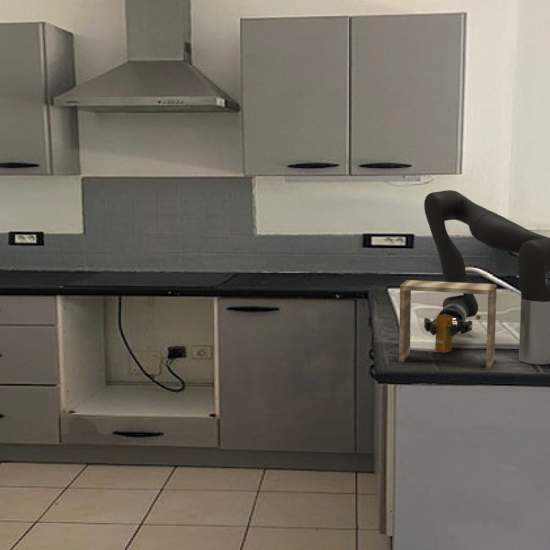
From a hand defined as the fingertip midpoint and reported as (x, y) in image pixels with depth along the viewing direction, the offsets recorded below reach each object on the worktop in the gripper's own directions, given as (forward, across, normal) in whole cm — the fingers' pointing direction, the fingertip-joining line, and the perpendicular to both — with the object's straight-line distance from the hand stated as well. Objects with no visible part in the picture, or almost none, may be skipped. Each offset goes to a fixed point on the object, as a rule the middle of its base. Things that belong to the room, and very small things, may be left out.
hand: (442, 331), depth 224 cm
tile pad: (-17, -7, +9) cm, 20 cm away
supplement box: (-3, 0, +6) cm, 7 cm away
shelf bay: (-2, +1, +9) cm, 9 cm away
